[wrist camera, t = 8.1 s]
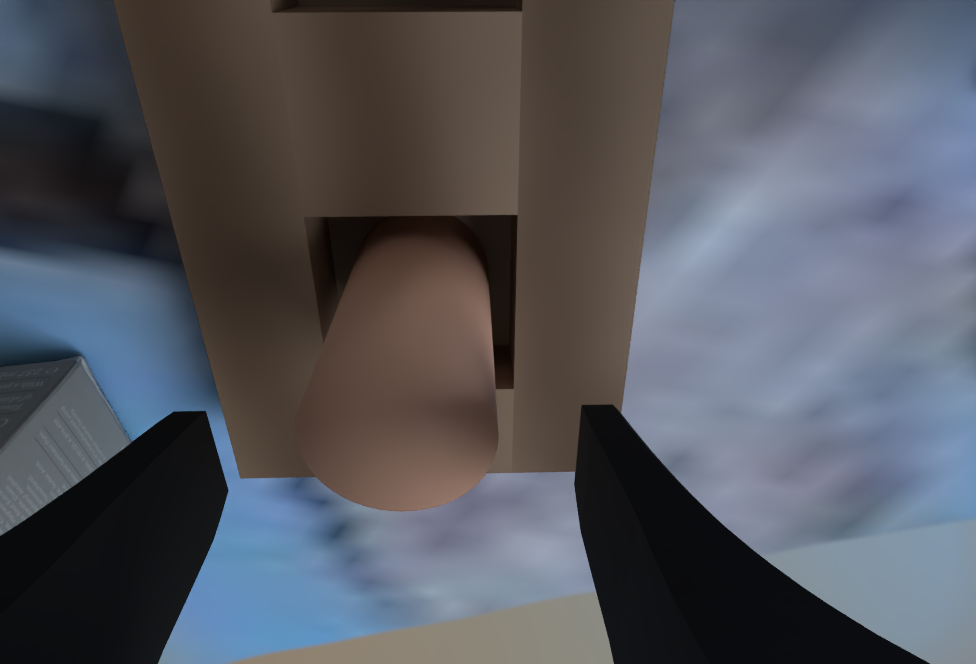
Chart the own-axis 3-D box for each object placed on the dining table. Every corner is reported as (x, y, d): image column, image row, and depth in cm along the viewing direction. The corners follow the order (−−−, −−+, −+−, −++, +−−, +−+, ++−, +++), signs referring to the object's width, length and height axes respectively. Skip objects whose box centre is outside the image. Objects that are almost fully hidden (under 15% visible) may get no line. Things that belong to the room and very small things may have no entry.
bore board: (695, -512, 12) (758, -645, 9) (597, 413, 23) (613, 470, 20) (54, -521, 12) (-63, -659, 9) (266, 420, 23) (240, 478, 20)
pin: (488, 208, 18) (501, 353, 12) (487, 326, 20) (496, 510, 14) (351, 207, 18) (280, 353, 11) (363, 326, 20) (308, 512, 13)
